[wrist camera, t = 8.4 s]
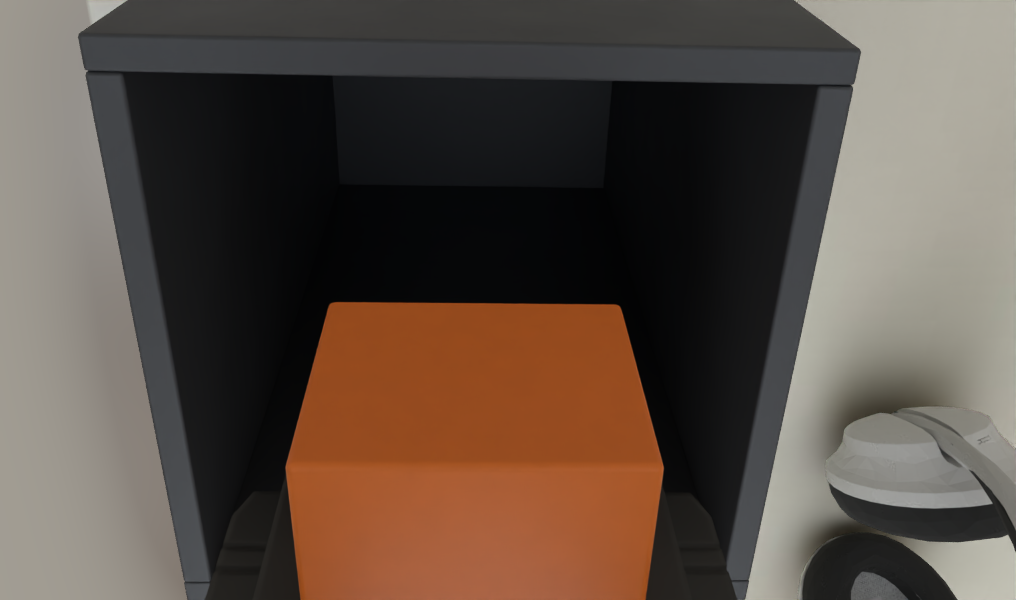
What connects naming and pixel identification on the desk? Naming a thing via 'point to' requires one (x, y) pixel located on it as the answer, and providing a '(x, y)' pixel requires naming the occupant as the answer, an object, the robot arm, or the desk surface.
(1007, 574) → the desk surface
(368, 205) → the wastebasket
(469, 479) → the block
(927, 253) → the desk surface
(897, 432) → the headphones
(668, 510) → the robot arm
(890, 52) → the desk surface
